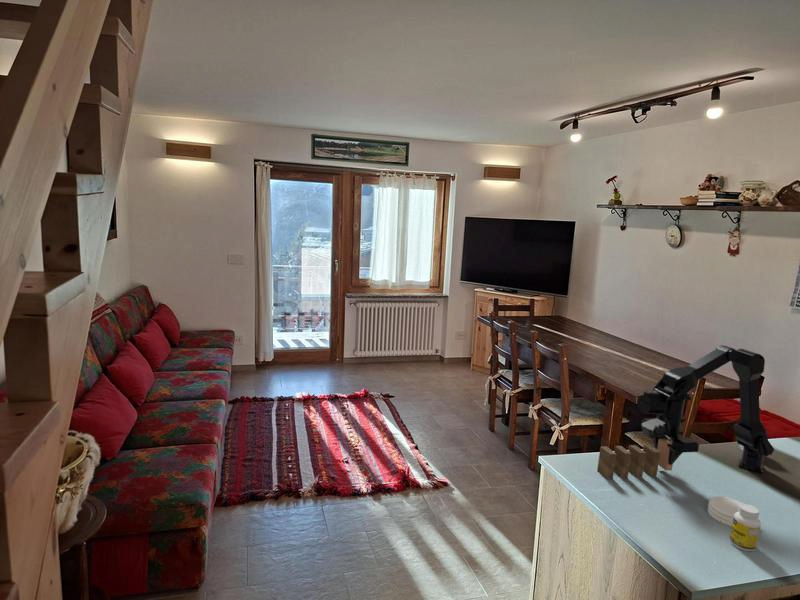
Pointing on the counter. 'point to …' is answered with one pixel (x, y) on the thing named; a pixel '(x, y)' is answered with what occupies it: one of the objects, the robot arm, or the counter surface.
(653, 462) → the walnut domino
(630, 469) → the walnut domino
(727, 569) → the counter surface
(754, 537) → the supplement bottle
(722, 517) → the white rounded piece
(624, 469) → the walnut domino
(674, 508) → the counter surface
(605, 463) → the walnut domino
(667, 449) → the terracotta domino
